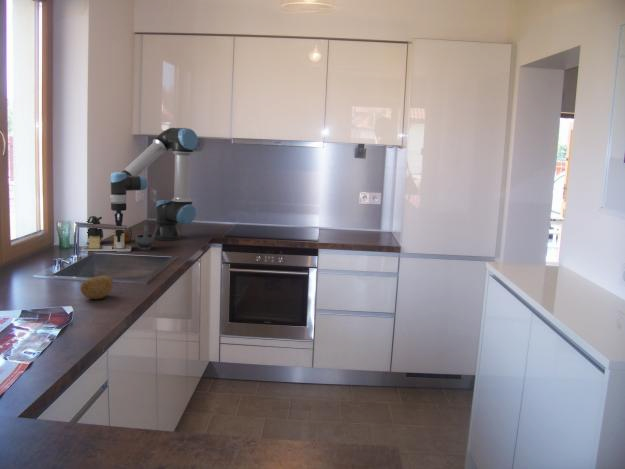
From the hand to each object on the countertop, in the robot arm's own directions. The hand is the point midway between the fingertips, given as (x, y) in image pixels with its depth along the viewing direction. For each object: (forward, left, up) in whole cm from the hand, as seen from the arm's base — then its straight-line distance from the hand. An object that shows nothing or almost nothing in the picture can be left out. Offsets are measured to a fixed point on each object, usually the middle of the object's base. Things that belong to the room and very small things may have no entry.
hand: (119, 246), depth 290 cm
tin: (-1, -22, -2) cm, 22 cm away
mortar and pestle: (-13, -3, -2) cm, 13 cm away
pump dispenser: (+14, -19, -2) cm, 24 cm away
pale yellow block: (+12, 0, -2) cm, 12 cm away
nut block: (0, 0, 0) cm, 0 cm away
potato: (+3, +92, -2) cm, 92 cm away
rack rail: (+6, 0, -2) cm, 6 cm away
